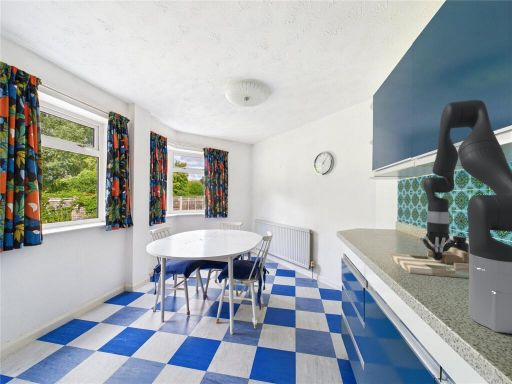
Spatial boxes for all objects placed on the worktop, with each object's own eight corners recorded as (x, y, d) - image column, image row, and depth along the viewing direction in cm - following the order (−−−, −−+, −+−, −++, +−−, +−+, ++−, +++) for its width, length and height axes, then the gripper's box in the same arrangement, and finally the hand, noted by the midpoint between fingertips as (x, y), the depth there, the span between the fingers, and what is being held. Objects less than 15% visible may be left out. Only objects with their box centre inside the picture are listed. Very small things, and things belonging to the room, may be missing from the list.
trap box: (488, 280, 82) (488, 260, 82) (409, 273, 88) (410, 255, 88) (453, 263, 102) (453, 247, 102) (390, 258, 108) (391, 243, 108)
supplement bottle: (473, 262, 103) (473, 238, 103) (458, 262, 103) (459, 237, 103) (459, 258, 110) (460, 235, 110) (446, 258, 110) (446, 234, 110)
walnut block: (462, 265, 91) (462, 257, 91) (446, 264, 92) (446, 256, 92) (452, 261, 97) (452, 253, 97) (437, 260, 98) (437, 252, 98)
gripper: (425, 222, 92) (424, 261, 93) (461, 223, 90) (460, 264, 90) (416, 219, 100) (416, 256, 100) (449, 221, 97) (448, 258, 97)
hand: (437, 260), depth 95 cm, fingers closed
